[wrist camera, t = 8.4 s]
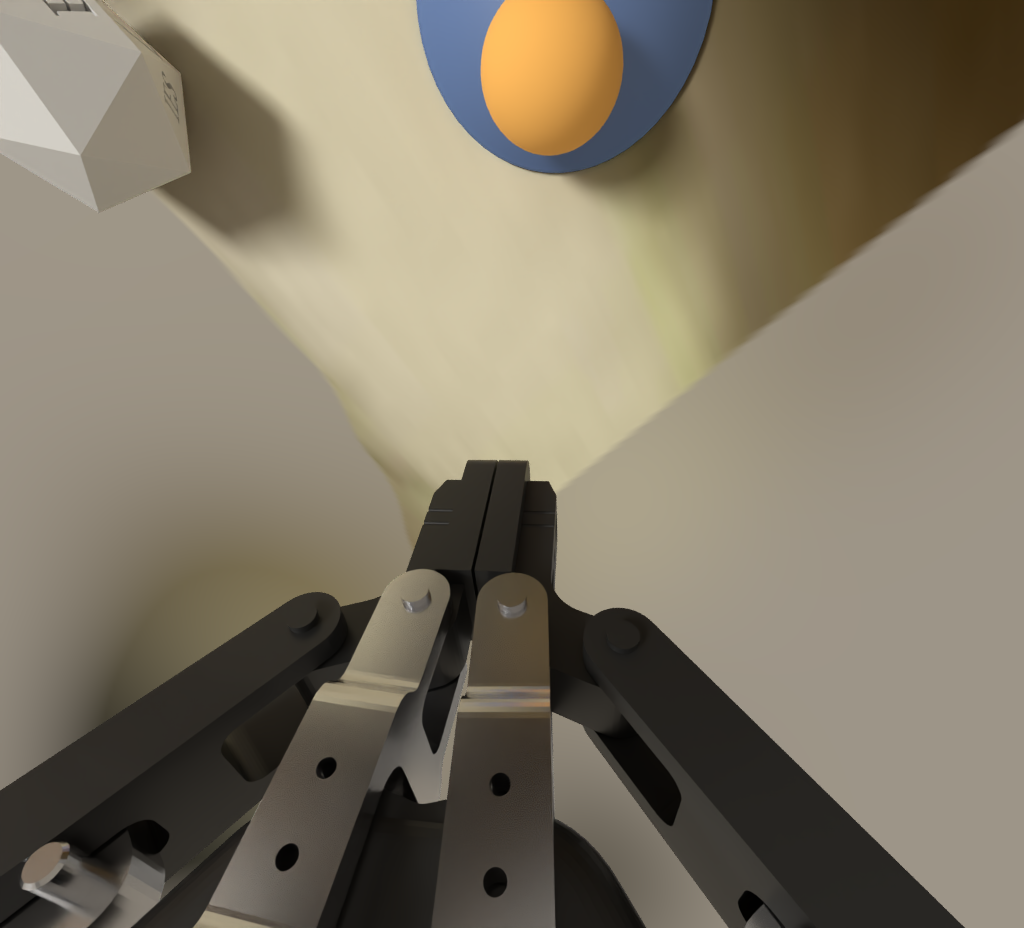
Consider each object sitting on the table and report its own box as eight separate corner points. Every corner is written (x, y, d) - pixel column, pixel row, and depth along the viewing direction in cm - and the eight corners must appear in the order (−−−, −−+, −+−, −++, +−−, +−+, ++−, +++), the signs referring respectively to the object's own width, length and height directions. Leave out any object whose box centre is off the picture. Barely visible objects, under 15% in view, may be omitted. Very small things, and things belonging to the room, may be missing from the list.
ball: (453, 108, 20) (505, 190, 25) (608, 75, 18) (628, 172, 23) (460, -45, 20) (511, 71, 25) (616, -95, 18) (633, 43, 23)
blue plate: (390, -205, 20) (388, -207, 19) (745, -262, 18) (746, -265, 18) (439, 179, 27) (438, 179, 27) (691, 164, 25) (692, 165, 25)
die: (260, 164, 28) (134, 10, 19) (145, 267, 28) (-42, 164, 19) (162, 55, 28) (-15, -156, 19) (46, 157, 28) (-192, -2, 19)
